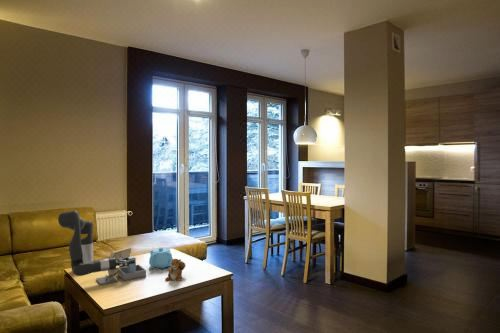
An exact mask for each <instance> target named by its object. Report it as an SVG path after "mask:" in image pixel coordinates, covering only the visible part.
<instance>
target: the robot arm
mask: <svg viewBox="0 0 500 333" xmlns="http://www.w3.org/2000/svg"><path fill="white" fill-rule="evenodd" d="M57 222H58V224H59V226H60V227H61V228H64V229H68V230H69V229H70V230H71V231H73V232H74V233H73V236H72V238H71V239H70V242H69V244H68V252H69V257H70V265H71V267H70V268H71V271H72V273H73V274H74V275H75V276H76V277H83V276H87V275H90V274H92V273H93V274H94V273H99V272H108V270H113V269H116V268H117V267H124V266H129V264H134V263H135V260H130V261H128V257H127V258H125V257H124V258H123V257H120V258H114V257H113V258H109V257H108V258H101V259H99V260H97V259H96V260H94V237H93V236H94V232H93V231H94V224H93V221H92V220H87V221H85V220H84V218H82V217H81V216H80V214H79V212H78V211H77V210H71V211H69V210H68V211H63V212H61V213H59V215H58V217H57ZM82 235H86V237H83V238H82V237H81V236H82ZM126 263H127V264H126Z"/></svg>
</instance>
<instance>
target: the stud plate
mask: <svg viewBox="0 0 500 333" xmlns="http://www.w3.org/2000/svg"><path fill="white" fill-rule="evenodd" d="M96 282H97V283H98V285H100V286H104V285H109V284H114V283H117V282H118V280H117V278H116V277H115V276H114V275H109V274H105V276H102V277H99V278H98V277H97V278H96Z"/></svg>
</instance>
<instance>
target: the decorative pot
mask: <svg viewBox="0 0 500 333" xmlns="http://www.w3.org/2000/svg"><path fill="white" fill-rule="evenodd" d="M149 254H150V256H149V261H148V263H149V265H150V267H152V268H153V269H155V268H156V269H159V270H164V268H167V267H171V263H172V260H171V259H174V258H173V254H172V253H171V250H170V249H169V248H164V247H159V248H157V249H153V250H150V253H149Z"/></svg>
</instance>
